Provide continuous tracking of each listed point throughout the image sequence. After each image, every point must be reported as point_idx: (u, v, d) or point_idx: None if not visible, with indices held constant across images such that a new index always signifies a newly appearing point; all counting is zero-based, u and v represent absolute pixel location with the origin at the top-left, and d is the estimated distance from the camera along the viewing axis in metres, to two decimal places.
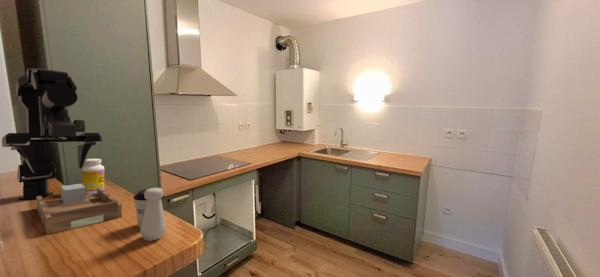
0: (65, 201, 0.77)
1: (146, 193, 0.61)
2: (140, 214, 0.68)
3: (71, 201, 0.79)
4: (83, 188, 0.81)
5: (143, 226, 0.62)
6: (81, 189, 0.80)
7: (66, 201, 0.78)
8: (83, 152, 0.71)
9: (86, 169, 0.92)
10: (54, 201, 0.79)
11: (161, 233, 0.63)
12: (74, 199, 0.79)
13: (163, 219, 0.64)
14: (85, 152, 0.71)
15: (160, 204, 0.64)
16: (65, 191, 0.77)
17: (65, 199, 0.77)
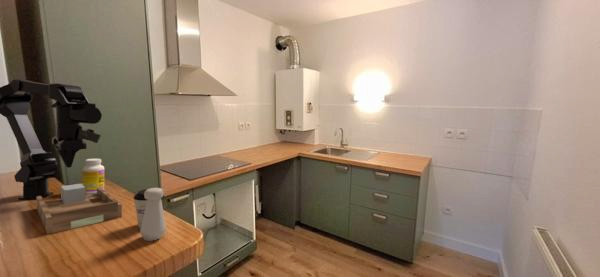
0: (65, 201, 0.77)
1: (146, 193, 0.61)
2: (140, 214, 0.68)
3: (71, 201, 0.79)
4: (83, 188, 0.81)
5: (143, 226, 0.62)
6: (81, 189, 0.80)
7: (66, 201, 0.78)
8: None
9: (86, 169, 0.92)
10: (54, 201, 0.79)
11: (161, 233, 0.63)
12: (74, 199, 0.79)
13: (163, 219, 0.64)
14: None
15: (160, 204, 0.64)
16: (65, 191, 0.77)
17: (65, 199, 0.77)
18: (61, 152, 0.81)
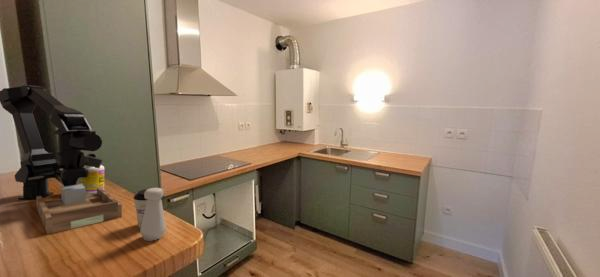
0: (65, 202, 0.77)
1: (146, 193, 0.61)
2: (140, 214, 0.68)
3: (71, 201, 0.78)
4: (83, 188, 0.80)
5: (143, 226, 0.62)
6: (82, 189, 0.80)
7: (67, 201, 0.77)
8: None
9: (86, 169, 0.92)
10: (54, 201, 0.79)
11: (161, 233, 0.63)
12: (74, 199, 0.79)
13: (163, 219, 0.64)
14: None
15: (160, 204, 0.64)
16: (65, 191, 0.77)
17: (65, 199, 0.77)
18: (63, 180, 0.80)
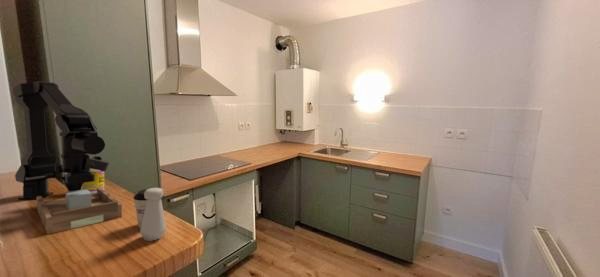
0: (70, 208, 0.72)
1: (146, 193, 0.61)
2: (140, 214, 0.68)
3: (76, 208, 0.73)
4: (89, 194, 0.76)
5: (143, 226, 0.62)
6: (87, 195, 0.75)
7: (71, 208, 0.73)
8: None
9: None
10: (54, 201, 0.79)
11: (161, 233, 0.63)
12: (79, 206, 0.74)
13: (163, 219, 0.64)
14: None
15: (160, 204, 0.64)
16: (70, 197, 0.72)
17: (70, 206, 0.72)
18: (67, 184, 0.76)
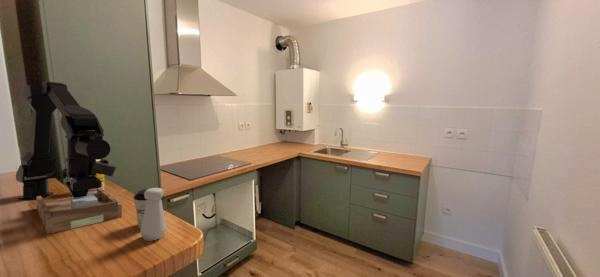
0: None
1: (146, 193, 0.61)
2: (140, 214, 0.68)
3: None
4: (96, 200, 0.71)
5: (143, 226, 0.62)
6: (94, 202, 0.70)
7: None
8: None
9: None
10: (54, 201, 0.79)
11: (161, 233, 0.63)
12: None
13: (163, 219, 0.64)
14: None
15: (160, 204, 0.64)
16: (76, 204, 0.67)
17: None
18: (72, 190, 0.71)
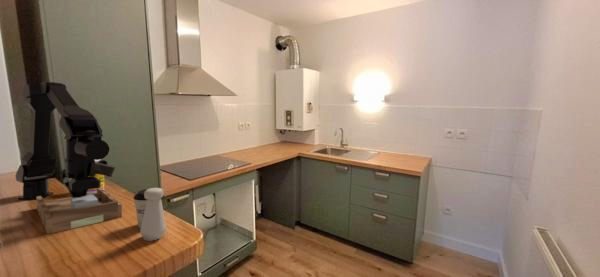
0: None
1: (146, 193, 0.61)
2: (140, 214, 0.68)
3: None
4: (96, 200, 0.71)
5: (143, 226, 0.62)
6: (94, 202, 0.70)
7: None
8: None
9: None
10: (54, 201, 0.79)
11: (161, 233, 0.63)
12: None
13: (163, 219, 0.64)
14: None
15: (160, 204, 0.64)
16: (76, 204, 0.67)
17: None
18: (71, 190, 0.71)
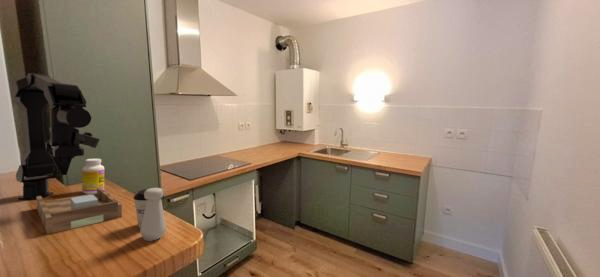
0: None
1: (146, 193, 0.61)
2: (140, 214, 0.68)
3: None
4: (96, 200, 0.71)
5: (143, 226, 0.62)
6: (94, 202, 0.70)
7: None
8: None
9: (86, 169, 0.92)
10: (54, 201, 0.79)
11: (161, 233, 0.63)
12: None
13: (163, 219, 0.64)
14: None
15: (160, 204, 0.64)
16: (76, 204, 0.67)
17: None
18: (55, 158, 0.73)
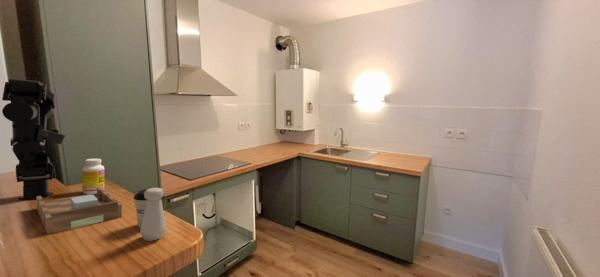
0: None
1: (146, 193, 0.61)
2: (140, 214, 0.68)
3: None
4: (96, 200, 0.71)
5: (143, 226, 0.62)
6: (94, 202, 0.70)
7: None
8: None
9: (86, 169, 0.92)
10: (54, 201, 0.79)
11: (161, 233, 0.63)
12: None
13: (163, 219, 0.64)
14: None
15: (160, 204, 0.64)
16: (76, 204, 0.67)
17: None
18: (17, 154, 0.73)
